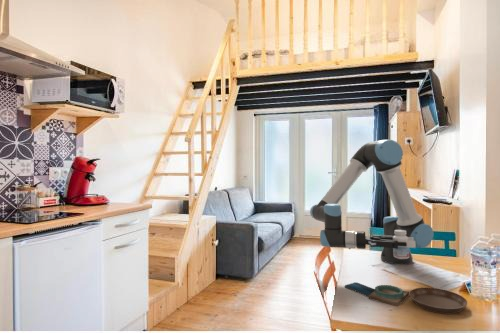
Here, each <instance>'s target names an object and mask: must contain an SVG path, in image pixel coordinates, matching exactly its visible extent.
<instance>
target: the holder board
mask: <svg viewBox="0 0 500 333" xmlns="http://www.w3.org/2000/svg"><path fill="white" fill-rule="evenodd" d="M374 289H375V291H374V292H372V293H371V294H370V295H368V297H367V298H368V299H369V300H373V301H376V302H379V303H380V302H381V303H384V304H387V305H391V306H395V307H399V306H400V304H402V302H404V301H405V300H406V298H408V297H410V295H409V293H410V291H407V290H403V289H402V288H400V287H398V286H395V285H391V284H379V285H376V286H375V287H374Z"/></svg>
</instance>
